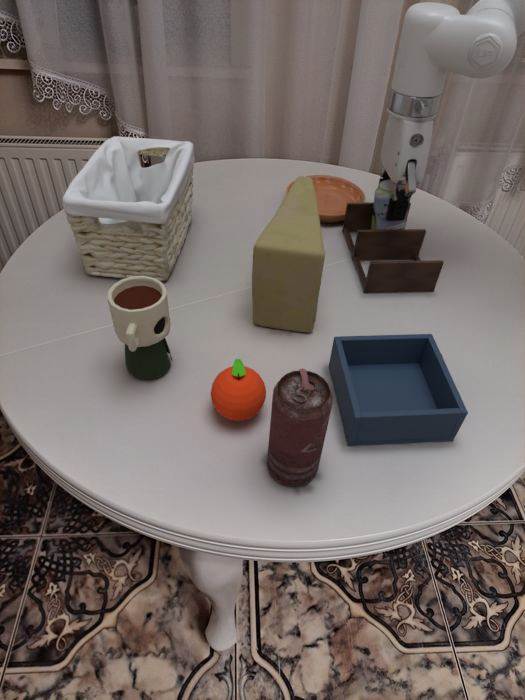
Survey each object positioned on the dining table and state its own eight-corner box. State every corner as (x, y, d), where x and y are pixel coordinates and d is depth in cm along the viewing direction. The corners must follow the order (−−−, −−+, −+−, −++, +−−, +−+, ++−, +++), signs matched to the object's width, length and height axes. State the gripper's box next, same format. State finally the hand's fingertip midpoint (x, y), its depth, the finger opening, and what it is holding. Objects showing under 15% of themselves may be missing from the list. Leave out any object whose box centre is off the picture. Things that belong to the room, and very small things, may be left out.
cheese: (272, 246, 93) (277, 167, 82) (325, 253, 92) (337, 174, 81) (249, 326, 78) (252, 242, 67) (312, 335, 77) (325, 252, 66)
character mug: (167, 397, 67) (157, 324, 58) (114, 393, 67) (95, 320, 58) (181, 340, 75) (174, 268, 66) (133, 336, 75) (119, 264, 66)
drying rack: (402, 230, 99) (410, 202, 95) (433, 291, 85) (444, 262, 81) (342, 230, 98) (346, 202, 94) (363, 293, 84) (370, 263, 80)
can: (310, 439, 63) (324, 362, 53) (323, 484, 59) (341, 409, 49) (262, 445, 62) (268, 368, 53) (272, 491, 58) (280, 417, 48)
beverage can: (380, 260, 91) (393, 200, 82) (358, 238, 96) (368, 179, 87) (409, 251, 93) (425, 191, 84) (387, 230, 97) (399, 171, 89)
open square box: (420, 362, 74) (431, 333, 69) (453, 441, 64) (468, 412, 60) (328, 365, 72) (334, 336, 68) (347, 446, 63) (355, 417, 59)
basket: (119, 207, 101) (106, 132, 90) (201, 214, 100) (197, 139, 89) (77, 280, 84) (55, 199, 73) (175, 289, 83) (166, 208, 73)
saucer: (368, 229, 98) (371, 215, 96) (285, 226, 98) (287, 212, 96) (357, 189, 110) (360, 176, 108) (284, 186, 109) (285, 173, 107)
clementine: (211, 384, 69) (209, 347, 64) (262, 383, 70) (264, 346, 65) (211, 433, 63) (209, 396, 58) (267, 431, 64) (269, 394, 59)
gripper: (457, 124, 71) (425, 236, 84) (420, 83, 83) (397, 185, 96) (405, 124, 70) (380, 237, 83) (375, 83, 83) (358, 186, 95)
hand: (389, 208), depth 89 cm, fingers closed on beverage can, 6 cm apart
